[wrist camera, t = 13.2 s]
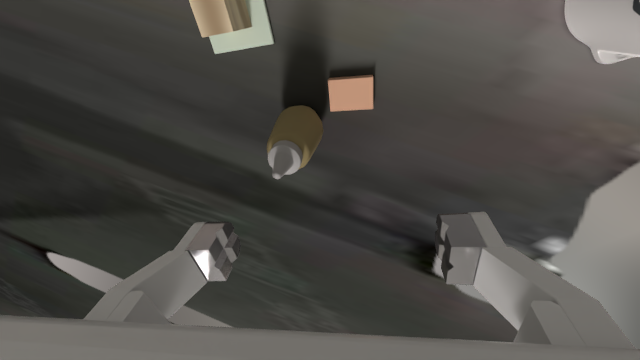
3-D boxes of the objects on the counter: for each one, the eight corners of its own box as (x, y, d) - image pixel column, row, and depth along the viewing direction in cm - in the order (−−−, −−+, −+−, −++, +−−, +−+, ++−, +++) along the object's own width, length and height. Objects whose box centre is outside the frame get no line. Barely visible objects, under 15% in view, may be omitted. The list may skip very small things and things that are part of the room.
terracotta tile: (372, 74, 42) (373, 77, 41) (372, 104, 45) (373, 108, 43) (329, 77, 43) (327, 80, 42) (331, 107, 46) (330, 111, 44)
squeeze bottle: (315, 92, 45) (292, 137, 30) (332, 134, 48) (318, 193, 34) (273, 107, 47) (233, 156, 32) (292, 146, 51) (264, 205, 36)
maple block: (242, -10, 37) (220, -11, 32) (252, 26, 40) (233, 31, 34) (213, -3, 38) (187, -4, 33) (224, 32, 41) (202, 37, 35)
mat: (255, -39, 36) (254, -40, 35) (274, 43, 41) (273, 43, 41) (190, -23, 38) (188, -23, 37) (216, 53, 43) (215, 53, 43)
